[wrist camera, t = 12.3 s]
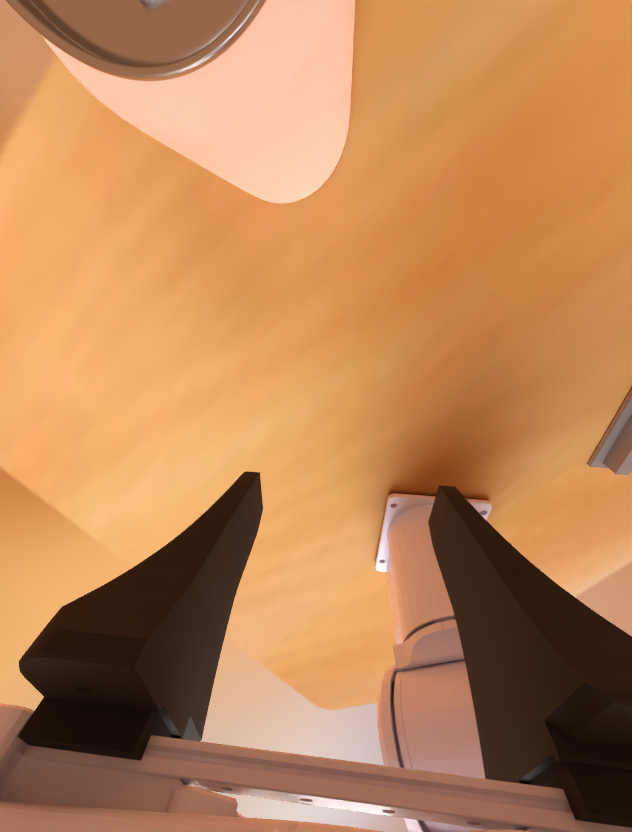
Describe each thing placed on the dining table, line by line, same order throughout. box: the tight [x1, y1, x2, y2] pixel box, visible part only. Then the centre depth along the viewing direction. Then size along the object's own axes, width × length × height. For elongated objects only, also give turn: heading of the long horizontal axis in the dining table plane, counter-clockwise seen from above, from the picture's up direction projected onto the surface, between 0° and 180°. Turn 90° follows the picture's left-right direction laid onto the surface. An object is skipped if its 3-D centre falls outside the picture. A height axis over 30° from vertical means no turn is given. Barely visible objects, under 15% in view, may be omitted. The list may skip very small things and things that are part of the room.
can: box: [6, 0, 355, 203], centre depth 9 cm, size 6×6×12 cm
